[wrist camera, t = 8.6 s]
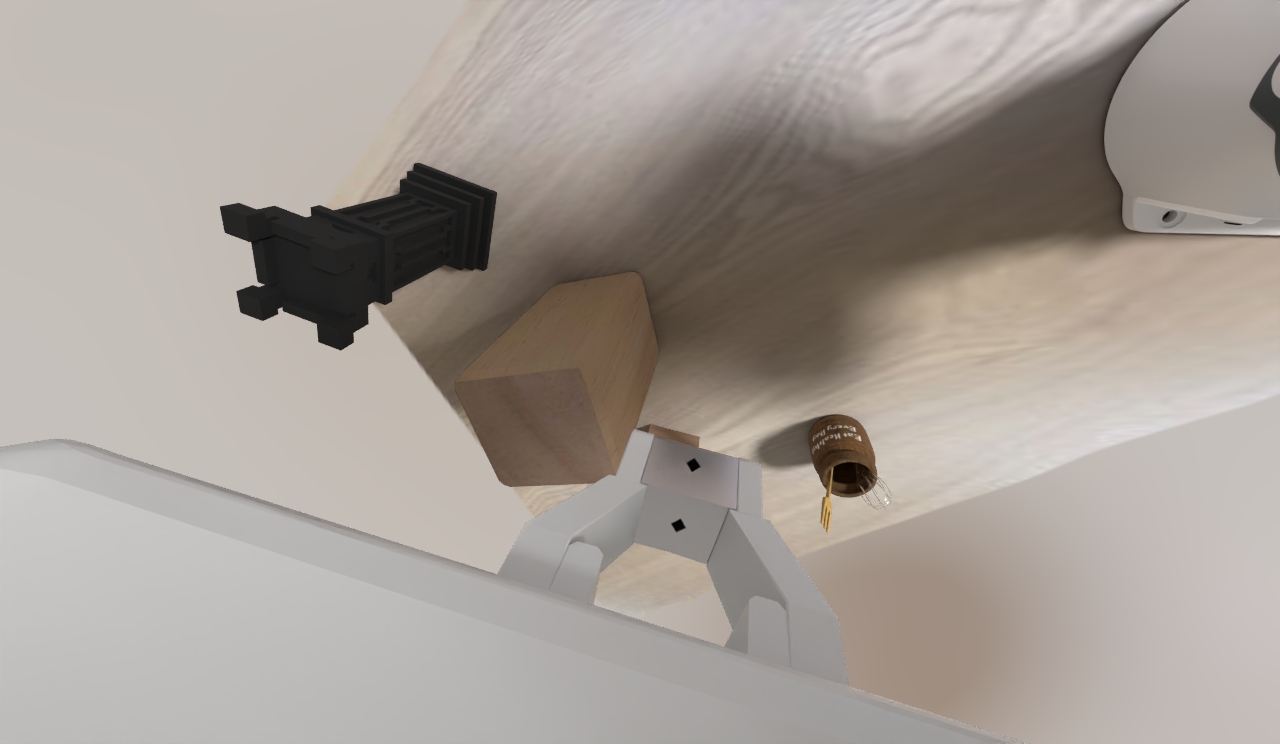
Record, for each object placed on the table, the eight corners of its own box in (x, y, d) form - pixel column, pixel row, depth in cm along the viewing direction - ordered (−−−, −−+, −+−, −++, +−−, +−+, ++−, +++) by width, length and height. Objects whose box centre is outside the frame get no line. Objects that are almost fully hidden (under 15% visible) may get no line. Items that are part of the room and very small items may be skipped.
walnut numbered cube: (699, 436, 53) (695, 472, 48) (688, 473, 56) (682, 510, 51) (650, 423, 54) (641, 458, 48) (641, 460, 57) (631, 496, 52)
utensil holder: (874, 444, 49) (909, 532, 39) (817, 463, 52) (837, 549, 42) (853, 404, 47) (884, 485, 37) (795, 425, 50) (810, 506, 40)
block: (577, 366, 51) (498, 492, 34) (550, 283, 47) (443, 381, 30) (662, 356, 49) (622, 488, 32) (642, 266, 44) (581, 364, 27)
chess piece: (419, 162, 43) (212, 197, 26) (497, 192, 43) (340, 246, 26) (415, 241, 47) (236, 315, 30) (486, 268, 47) (346, 357, 30)
